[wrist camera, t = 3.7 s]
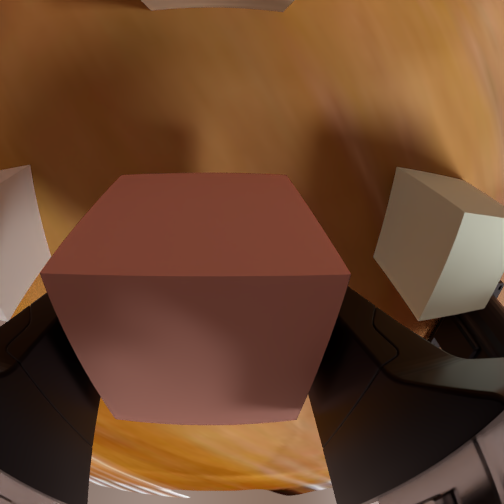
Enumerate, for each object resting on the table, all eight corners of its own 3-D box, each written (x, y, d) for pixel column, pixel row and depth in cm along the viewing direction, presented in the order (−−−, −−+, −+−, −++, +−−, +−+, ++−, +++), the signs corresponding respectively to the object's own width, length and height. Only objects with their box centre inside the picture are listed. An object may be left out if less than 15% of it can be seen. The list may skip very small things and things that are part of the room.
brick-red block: (286, 174, 9) (351, 274, 4) (270, 302, 11) (296, 419, 7) (121, 175, 8) (39, 273, 4) (141, 302, 11) (115, 418, 6)
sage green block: (462, 179, 13) (524, 221, 9) (437, 255, 15) (484, 308, 11) (395, 166, 12) (464, 212, 8) (372, 256, 15) (418, 321, 11)
